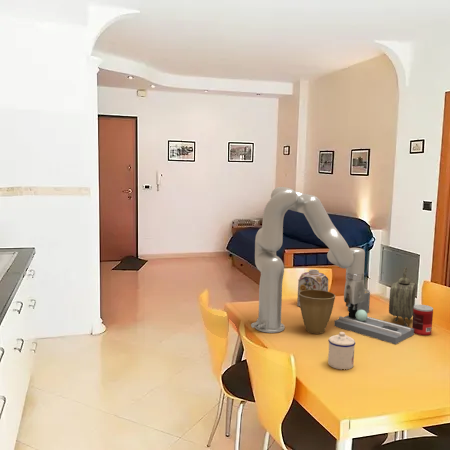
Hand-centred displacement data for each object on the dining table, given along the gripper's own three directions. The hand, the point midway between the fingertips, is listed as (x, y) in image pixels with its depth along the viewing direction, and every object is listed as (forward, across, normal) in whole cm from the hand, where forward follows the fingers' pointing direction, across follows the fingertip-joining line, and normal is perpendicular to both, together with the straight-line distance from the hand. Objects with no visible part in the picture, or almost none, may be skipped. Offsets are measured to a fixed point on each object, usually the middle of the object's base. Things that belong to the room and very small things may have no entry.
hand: (352, 317), depth 208 cm
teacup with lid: (+3, -40, -19) cm, 44 cm away
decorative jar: (+3, +10, +28) cm, 30 cm away
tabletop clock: (+3, +19, -13) cm, 23 cm away
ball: (-2, 0, -4) cm, 5 cm away
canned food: (+3, +13, -25) cm, 28 cm away
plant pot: (+3, -19, +6) cm, 20 cm away
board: (+3, 0, -10) cm, 10 cm away
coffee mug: (+3, +21, +10) cm, 23 cm away
